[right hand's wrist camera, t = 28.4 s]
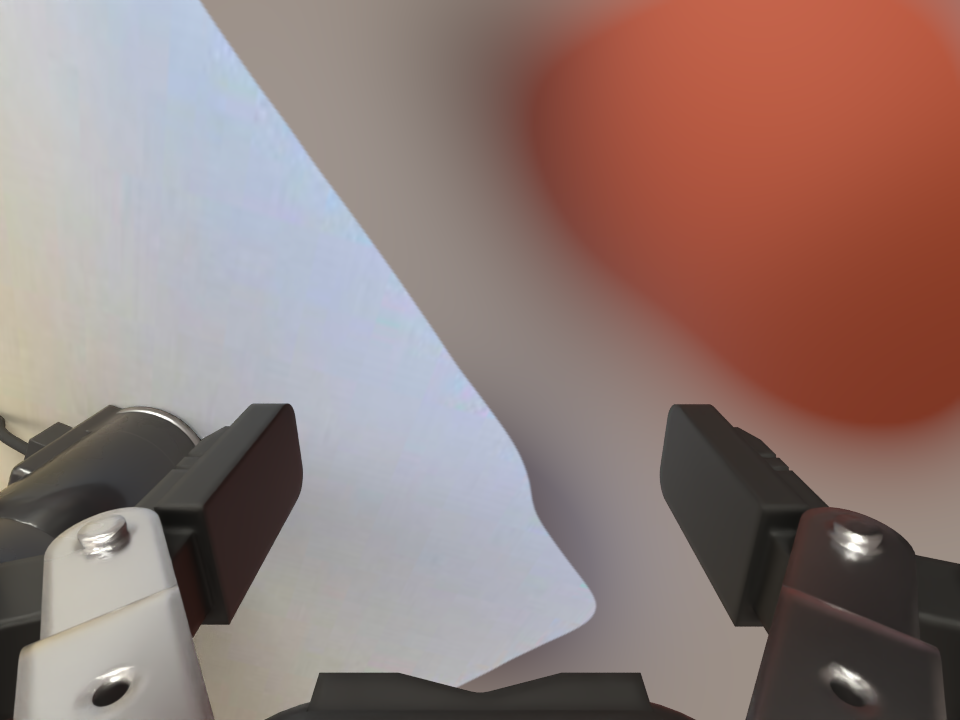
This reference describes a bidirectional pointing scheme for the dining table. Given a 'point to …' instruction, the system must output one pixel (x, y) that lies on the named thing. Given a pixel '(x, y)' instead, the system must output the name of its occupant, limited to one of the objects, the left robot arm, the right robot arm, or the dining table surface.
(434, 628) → the dining table surface
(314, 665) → the dining table surface
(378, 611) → the dining table surface
